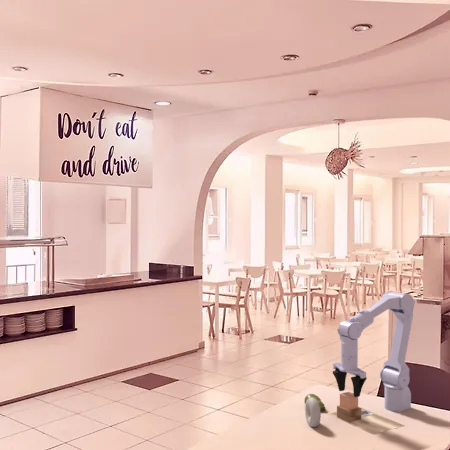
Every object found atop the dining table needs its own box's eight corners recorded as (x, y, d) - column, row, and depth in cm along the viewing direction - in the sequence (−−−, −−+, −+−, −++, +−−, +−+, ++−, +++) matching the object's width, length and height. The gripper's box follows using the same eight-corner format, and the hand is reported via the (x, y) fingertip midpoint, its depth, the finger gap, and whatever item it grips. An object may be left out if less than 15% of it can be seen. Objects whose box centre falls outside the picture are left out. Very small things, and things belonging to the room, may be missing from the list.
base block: (349, 414, 202) (349, 403, 202) (361, 419, 196) (361, 407, 196) (336, 417, 199) (336, 405, 198) (348, 422, 193) (348, 411, 193)
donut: (321, 432, 187) (322, 402, 187) (312, 432, 186) (312, 403, 186) (313, 421, 197) (313, 393, 197) (303, 421, 196) (303, 393, 196)
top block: (349, 404, 201) (349, 391, 200) (358, 407, 197) (358, 395, 197) (339, 406, 198) (339, 393, 198) (348, 410, 194) (348, 397, 194)
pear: (314, 390, 214) (329, 402, 205) (313, 403, 215) (328, 416, 206) (302, 392, 211) (317, 404, 202) (300, 405, 212) (315, 418, 203)
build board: (358, 408, 209) (358, 406, 209) (404, 427, 191) (404, 425, 191) (328, 416, 202) (328, 413, 202) (373, 436, 183) (373, 433, 183)
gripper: (326, 352, 201) (326, 389, 202) (355, 361, 189) (355, 401, 189) (341, 350, 205) (341, 386, 205) (370, 358, 193) (370, 397, 193)
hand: (349, 393), depth 197 cm, fingers open, 7 cm apart
